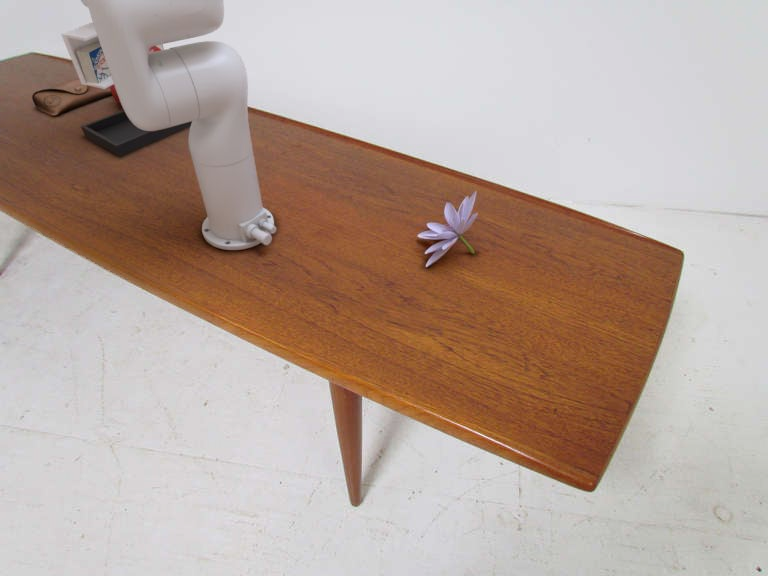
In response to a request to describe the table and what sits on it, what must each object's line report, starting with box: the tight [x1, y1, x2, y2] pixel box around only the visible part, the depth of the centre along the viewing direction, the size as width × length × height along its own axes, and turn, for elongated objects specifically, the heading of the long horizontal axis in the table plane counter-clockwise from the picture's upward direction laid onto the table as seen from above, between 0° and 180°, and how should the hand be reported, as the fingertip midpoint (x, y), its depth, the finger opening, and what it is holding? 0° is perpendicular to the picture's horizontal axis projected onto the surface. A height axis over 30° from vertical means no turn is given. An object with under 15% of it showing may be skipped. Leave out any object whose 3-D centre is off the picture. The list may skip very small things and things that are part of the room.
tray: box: [80, 109, 192, 158], centre depth 115 cm, size 14×24×3 cm, turn 143°
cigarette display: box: [60, 21, 165, 89], centre depth 102 cm, size 20×6×9 cm, turn 158°
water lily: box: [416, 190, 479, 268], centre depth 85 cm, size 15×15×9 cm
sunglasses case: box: [31, 77, 112, 117], centre depth 124 cm, size 18×7×7 cm
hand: (120, 43), depth 102 cm, fingers closed on cigarette display, 6 cm apart
